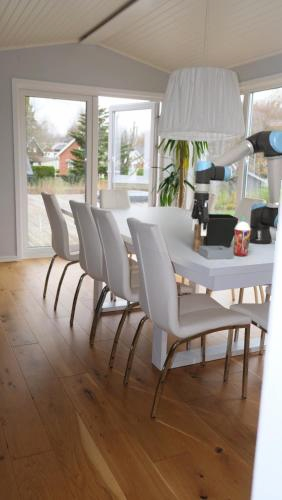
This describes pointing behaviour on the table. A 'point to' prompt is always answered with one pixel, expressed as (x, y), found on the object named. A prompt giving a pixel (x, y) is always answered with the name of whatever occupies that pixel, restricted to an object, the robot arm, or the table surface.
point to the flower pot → (219, 229)
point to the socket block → (215, 252)
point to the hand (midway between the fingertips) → (198, 233)
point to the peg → (197, 238)
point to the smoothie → (241, 238)
